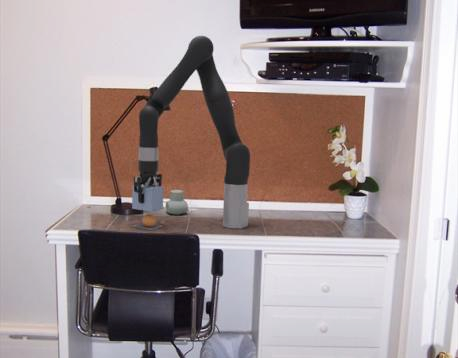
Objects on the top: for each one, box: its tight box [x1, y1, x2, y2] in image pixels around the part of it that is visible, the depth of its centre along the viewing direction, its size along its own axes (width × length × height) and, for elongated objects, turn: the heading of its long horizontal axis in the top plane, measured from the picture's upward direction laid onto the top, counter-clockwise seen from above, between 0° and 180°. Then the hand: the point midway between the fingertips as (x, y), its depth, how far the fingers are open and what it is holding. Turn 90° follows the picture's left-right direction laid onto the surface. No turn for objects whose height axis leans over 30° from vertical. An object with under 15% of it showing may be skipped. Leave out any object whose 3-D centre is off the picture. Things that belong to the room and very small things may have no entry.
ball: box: [142, 213, 157, 227], centre depth 197 cm, size 5×5×5 cm
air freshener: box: [165, 189, 189, 216], centre depth 222 cm, size 11×8×10 cm
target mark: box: [131, 222, 165, 231], centre depth 198 cm, size 10×8×1 cm
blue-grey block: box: [131, 184, 164, 213], centre depth 196 cm, size 10×7×9 cm
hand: (147, 201), depth 196 cm, fingers closed on blue-grey block, 6 cm apart
